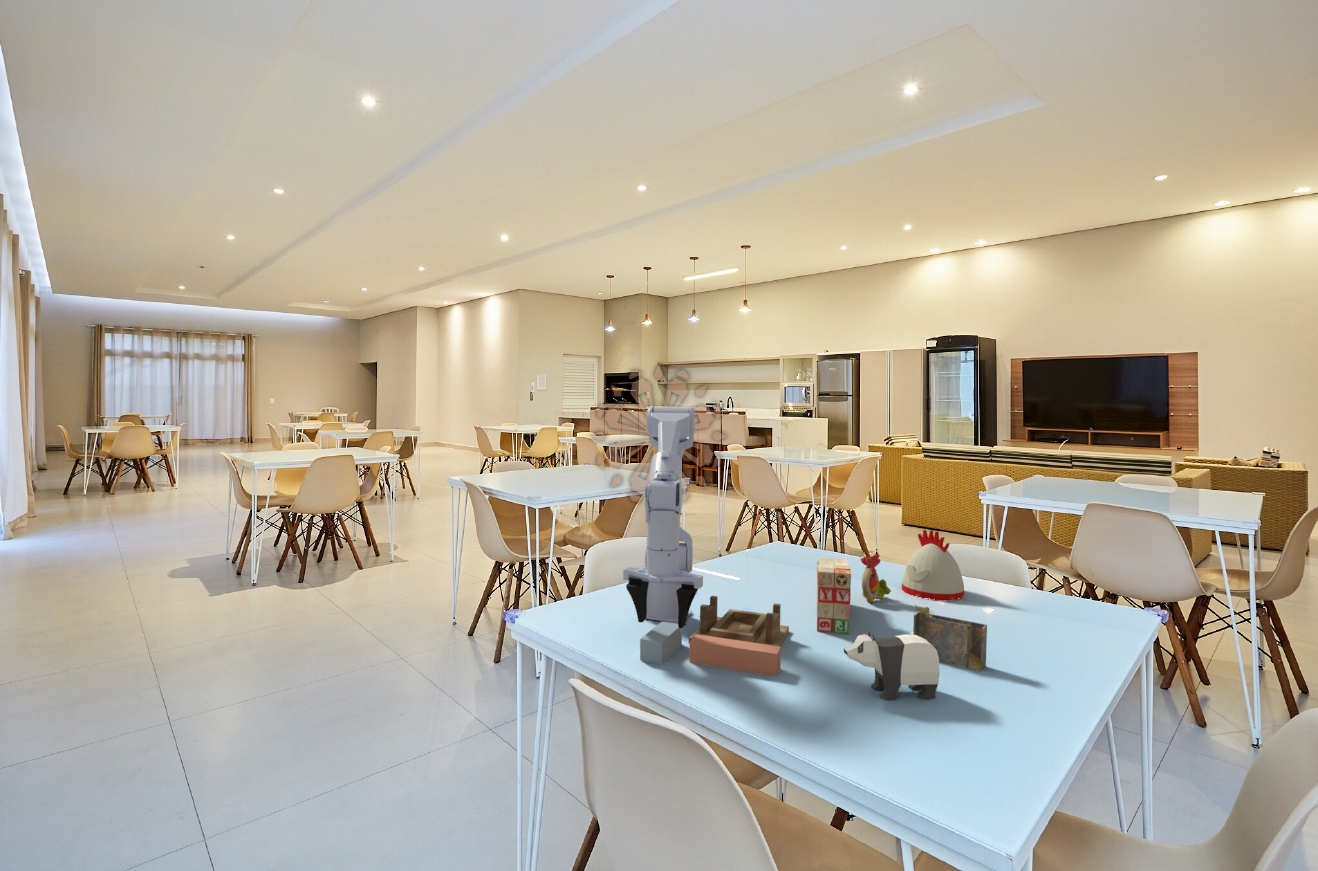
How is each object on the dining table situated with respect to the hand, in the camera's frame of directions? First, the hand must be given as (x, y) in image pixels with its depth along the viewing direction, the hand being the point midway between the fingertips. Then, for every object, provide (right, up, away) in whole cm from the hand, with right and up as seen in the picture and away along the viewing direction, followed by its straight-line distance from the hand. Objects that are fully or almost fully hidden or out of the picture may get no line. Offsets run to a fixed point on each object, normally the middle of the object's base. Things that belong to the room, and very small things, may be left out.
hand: (661, 623), depth 113 cm
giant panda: (+36, -6, -15) cm, 39 cm away
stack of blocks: (+36, -5, +22) cm, 42 cm away
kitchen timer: (+66, -5, +41) cm, 77 cm away
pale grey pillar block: (0, -5, 0) cm, 5 cm away
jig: (+15, -5, +8) cm, 18 cm away
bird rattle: (+49, -5, +33) cm, 59 cm away
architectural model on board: (+50, -7, -2) cm, 51 cm away
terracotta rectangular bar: (+12, -6, -5) cm, 15 cm away
